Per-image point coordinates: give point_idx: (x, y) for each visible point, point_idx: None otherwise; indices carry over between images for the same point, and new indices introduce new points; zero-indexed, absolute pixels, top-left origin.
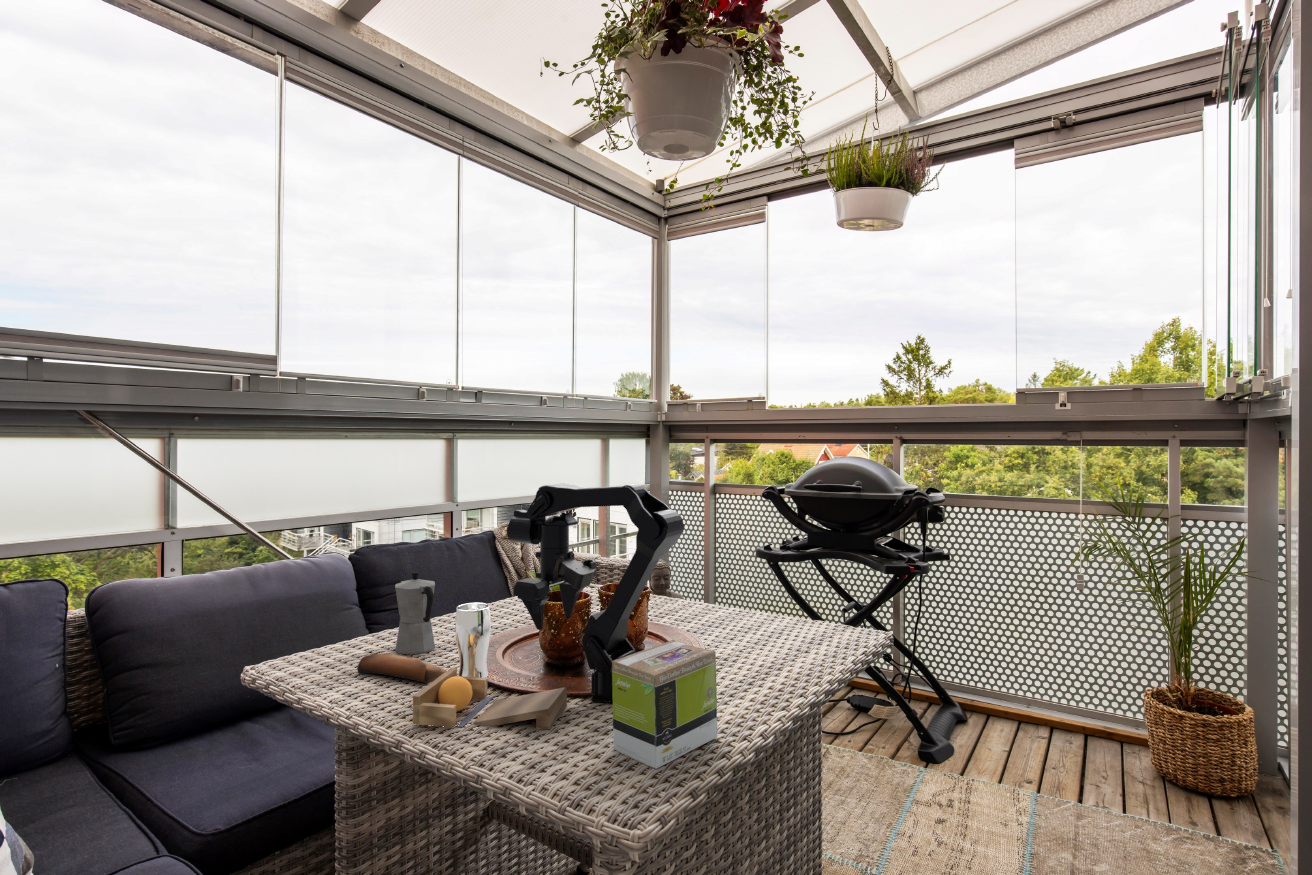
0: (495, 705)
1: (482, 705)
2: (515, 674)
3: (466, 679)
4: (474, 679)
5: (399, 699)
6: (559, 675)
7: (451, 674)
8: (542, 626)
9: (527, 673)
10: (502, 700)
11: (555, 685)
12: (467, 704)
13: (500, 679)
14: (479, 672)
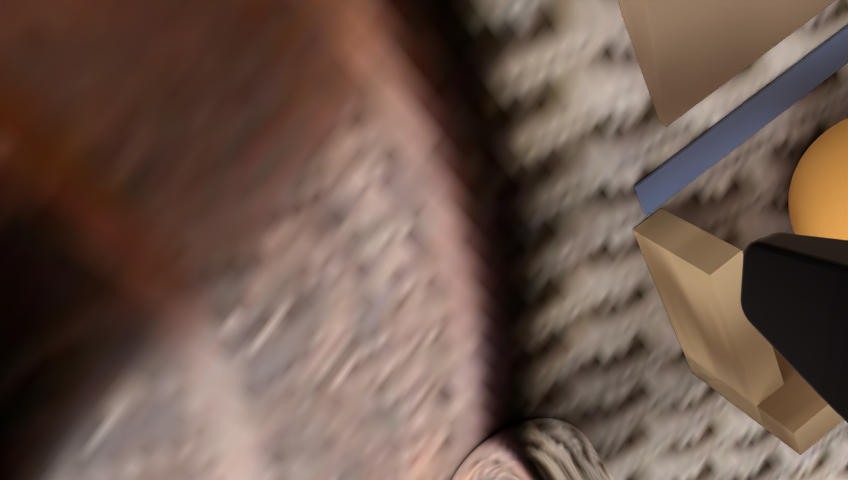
0: (737, 41)
1: (735, 122)
2: (305, 445)
3: None
4: None
5: None
6: (56, 244)
7: None
8: (802, 244)
9: (233, 421)
10: (679, 70)
11: (233, 75)
12: (842, 120)
13: (423, 416)
14: (568, 463)
